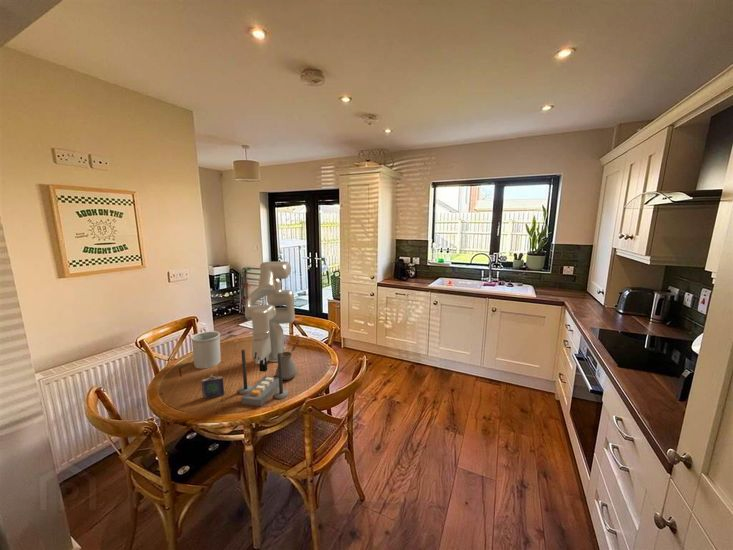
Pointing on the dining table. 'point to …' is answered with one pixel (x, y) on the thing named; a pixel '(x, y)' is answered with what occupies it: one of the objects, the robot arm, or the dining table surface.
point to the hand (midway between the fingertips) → (263, 370)
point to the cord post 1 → (244, 376)
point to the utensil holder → (206, 349)
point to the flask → (212, 387)
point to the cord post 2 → (280, 382)
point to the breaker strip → (261, 391)
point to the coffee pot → (287, 365)
